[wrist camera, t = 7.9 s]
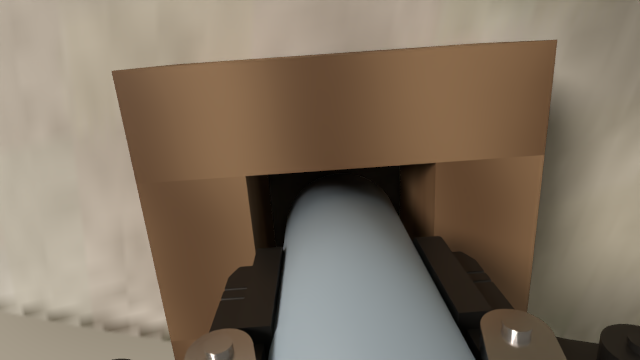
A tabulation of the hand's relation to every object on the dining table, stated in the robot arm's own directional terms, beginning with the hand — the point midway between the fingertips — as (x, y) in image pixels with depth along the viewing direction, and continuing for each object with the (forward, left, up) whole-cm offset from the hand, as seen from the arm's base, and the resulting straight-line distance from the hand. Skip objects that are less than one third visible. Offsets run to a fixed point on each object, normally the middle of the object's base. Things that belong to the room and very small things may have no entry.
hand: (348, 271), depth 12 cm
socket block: (0, 0, -6) cm, 6 cm away
